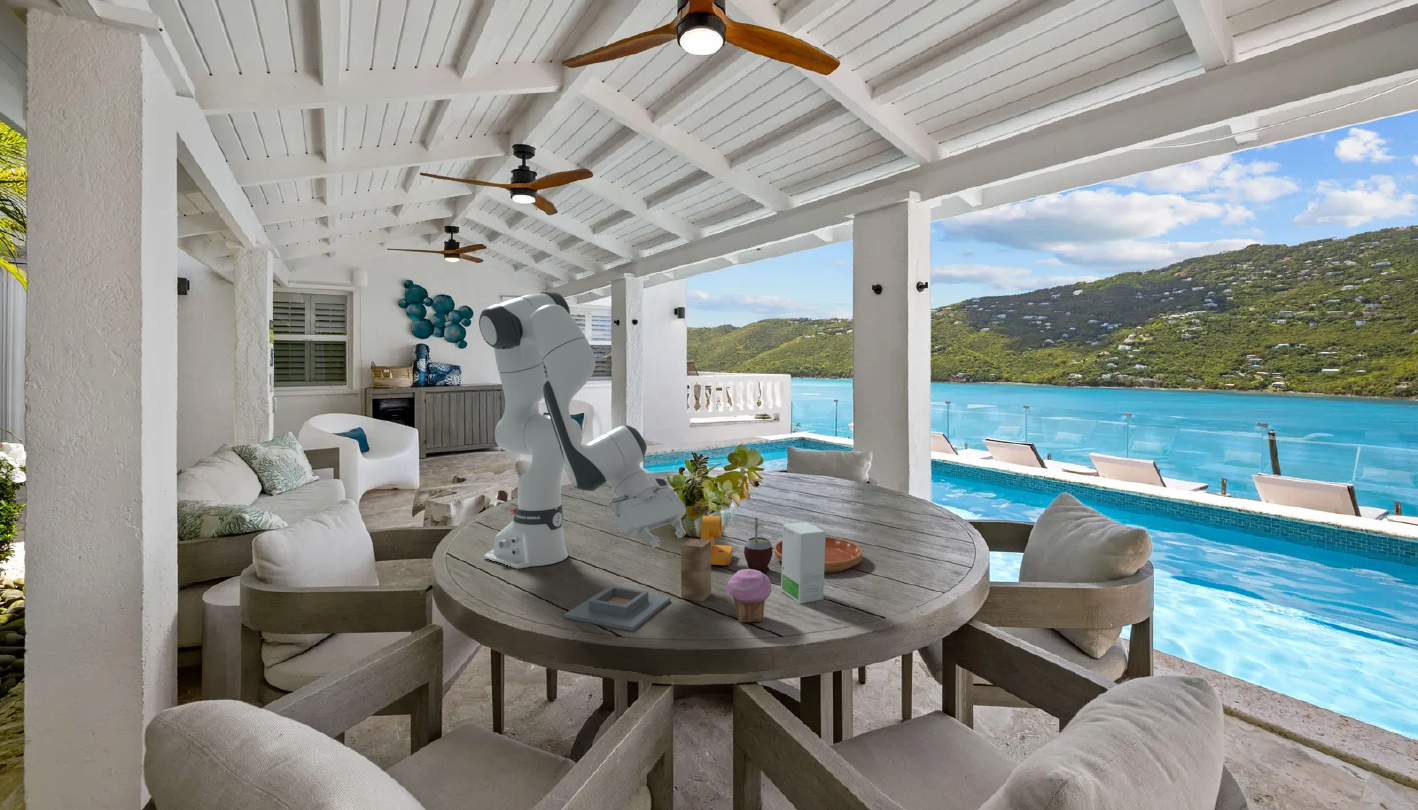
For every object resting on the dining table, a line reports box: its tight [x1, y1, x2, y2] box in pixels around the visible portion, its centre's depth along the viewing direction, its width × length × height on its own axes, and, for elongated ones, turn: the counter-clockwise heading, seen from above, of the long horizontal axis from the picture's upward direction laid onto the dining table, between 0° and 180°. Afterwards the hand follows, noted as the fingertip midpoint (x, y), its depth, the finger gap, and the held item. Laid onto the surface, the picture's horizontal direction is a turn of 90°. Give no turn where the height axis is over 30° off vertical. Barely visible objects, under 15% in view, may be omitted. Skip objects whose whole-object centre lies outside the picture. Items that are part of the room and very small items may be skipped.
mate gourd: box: [743, 517, 774, 576], centre depth 143 cm, size 8×8×15 cm
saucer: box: [773, 536, 863, 574], centre depth 152 cm, size 23×23×4 cm
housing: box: [564, 585, 671, 632], centre depth 121 cm, size 16×16×3 cm
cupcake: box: [727, 568, 772, 623], centre depth 115 cm, size 9×9×10 cm
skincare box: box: [780, 521, 827, 605], centre depth 127 cm, size 8×7×16 cm
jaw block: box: [680, 538, 712, 602], centre depth 128 cm, size 5×5×12 cm
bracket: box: [700, 515, 733, 566], centre depth 152 cm, size 11×7×12 cm, turn 171°
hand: (670, 540), depth 129 cm, fingers open, 8 cm apart
